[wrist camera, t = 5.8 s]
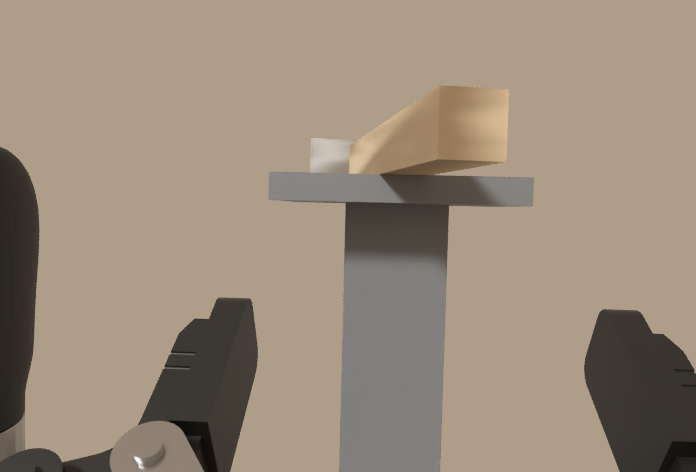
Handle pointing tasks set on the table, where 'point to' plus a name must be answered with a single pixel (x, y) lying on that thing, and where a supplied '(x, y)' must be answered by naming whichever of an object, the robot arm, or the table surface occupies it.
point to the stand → (395, 304)
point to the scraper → (426, 137)
